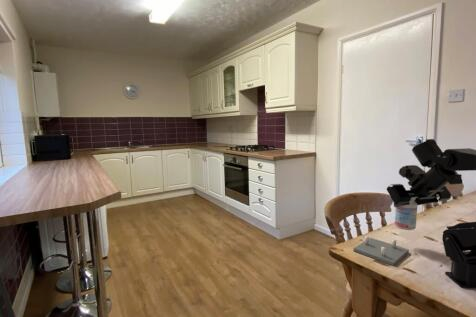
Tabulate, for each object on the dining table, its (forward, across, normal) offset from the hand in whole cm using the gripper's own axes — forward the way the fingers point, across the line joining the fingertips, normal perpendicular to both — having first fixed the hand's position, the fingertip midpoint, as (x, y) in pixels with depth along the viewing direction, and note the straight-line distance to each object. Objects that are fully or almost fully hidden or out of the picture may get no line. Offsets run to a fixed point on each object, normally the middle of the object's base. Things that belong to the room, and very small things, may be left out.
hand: (403, 205), depth 91 cm
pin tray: (+6, +11, +12) cm, 18 cm away
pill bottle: (+4, 0, +6) cm, 7 cm away
